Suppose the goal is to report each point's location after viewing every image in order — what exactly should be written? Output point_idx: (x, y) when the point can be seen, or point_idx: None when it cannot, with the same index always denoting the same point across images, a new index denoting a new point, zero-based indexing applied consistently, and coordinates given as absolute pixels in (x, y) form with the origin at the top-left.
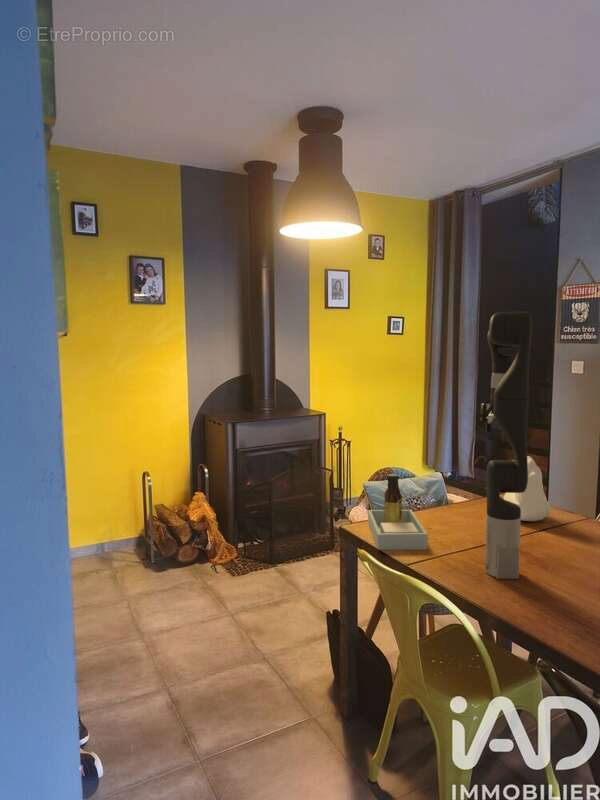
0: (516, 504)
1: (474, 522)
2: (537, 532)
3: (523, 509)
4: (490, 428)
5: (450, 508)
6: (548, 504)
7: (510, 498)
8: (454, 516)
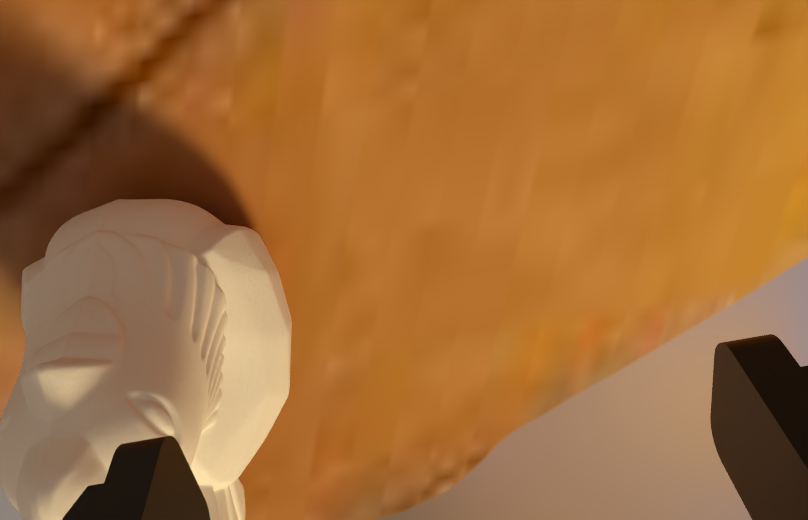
0: (226, 258)
1: (474, 176)
2: (129, 61)
3: (188, 221)
4: (804, 430)
5: (555, 369)
6: (23, 286)
7: (255, 332)
8: (564, 255)
